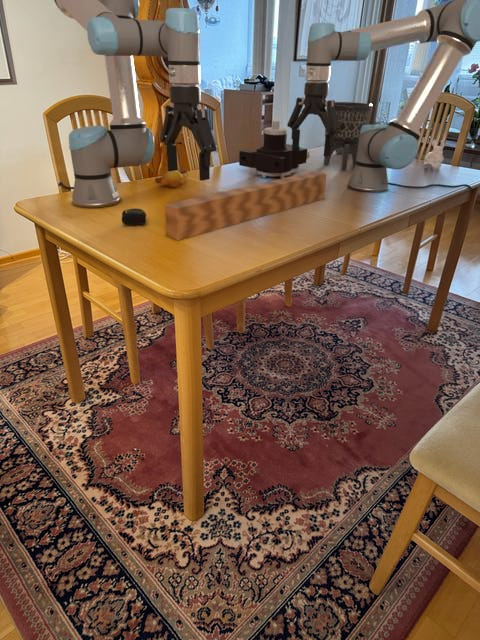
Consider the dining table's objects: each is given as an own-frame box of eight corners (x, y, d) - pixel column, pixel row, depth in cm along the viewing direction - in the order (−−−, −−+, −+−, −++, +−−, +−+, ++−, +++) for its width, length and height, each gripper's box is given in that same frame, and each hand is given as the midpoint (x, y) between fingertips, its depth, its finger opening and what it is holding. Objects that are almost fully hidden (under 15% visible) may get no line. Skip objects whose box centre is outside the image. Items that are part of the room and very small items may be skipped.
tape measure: (122, 227, 131) (120, 215, 129) (123, 220, 136) (122, 208, 135) (146, 227, 132) (145, 214, 130) (147, 219, 137) (145, 207, 136)
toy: (151, 179, 167) (162, 169, 180) (158, 195, 170) (169, 185, 183) (178, 169, 164) (188, 160, 177) (185, 186, 167) (194, 176, 180)
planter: (313, 167, 208) (319, 103, 195) (331, 160, 222) (338, 101, 209) (353, 173, 199) (362, 107, 185) (369, 166, 213) (379, 104, 199)
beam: (312, 195, 166) (314, 171, 161) (323, 198, 163) (326, 173, 158) (166, 235, 126) (164, 204, 122) (177, 240, 123) (176, 208, 119)
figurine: (444, 167, 214) (450, 138, 207) (436, 172, 203) (443, 142, 197) (426, 165, 218) (432, 136, 211) (417, 170, 207) (424, 140, 200)
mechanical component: (240, 120, 182) (283, 115, 202) (239, 174, 192) (280, 164, 212) (283, 126, 170) (325, 120, 190) (280, 183, 180) (320, 171, 200)
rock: (349, 150, 248) (350, 137, 244) (362, 152, 242) (364, 139, 239) (333, 152, 240) (335, 139, 237) (346, 155, 235) (348, 142, 231)
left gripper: (142, 83, 115) (149, 168, 126) (206, 88, 100) (207, 186, 111) (167, 82, 120) (171, 165, 131) (231, 88, 104) (230, 181, 115)
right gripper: (279, 80, 147) (275, 148, 158) (342, 84, 132) (334, 160, 143) (294, 79, 152) (290, 146, 163) (357, 83, 136) (348, 157, 147)
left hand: (188, 175), depth 121 cm, fingers open, 13 cm apart
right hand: (310, 153), depth 153 cm, fingers open, 13 cm apart
